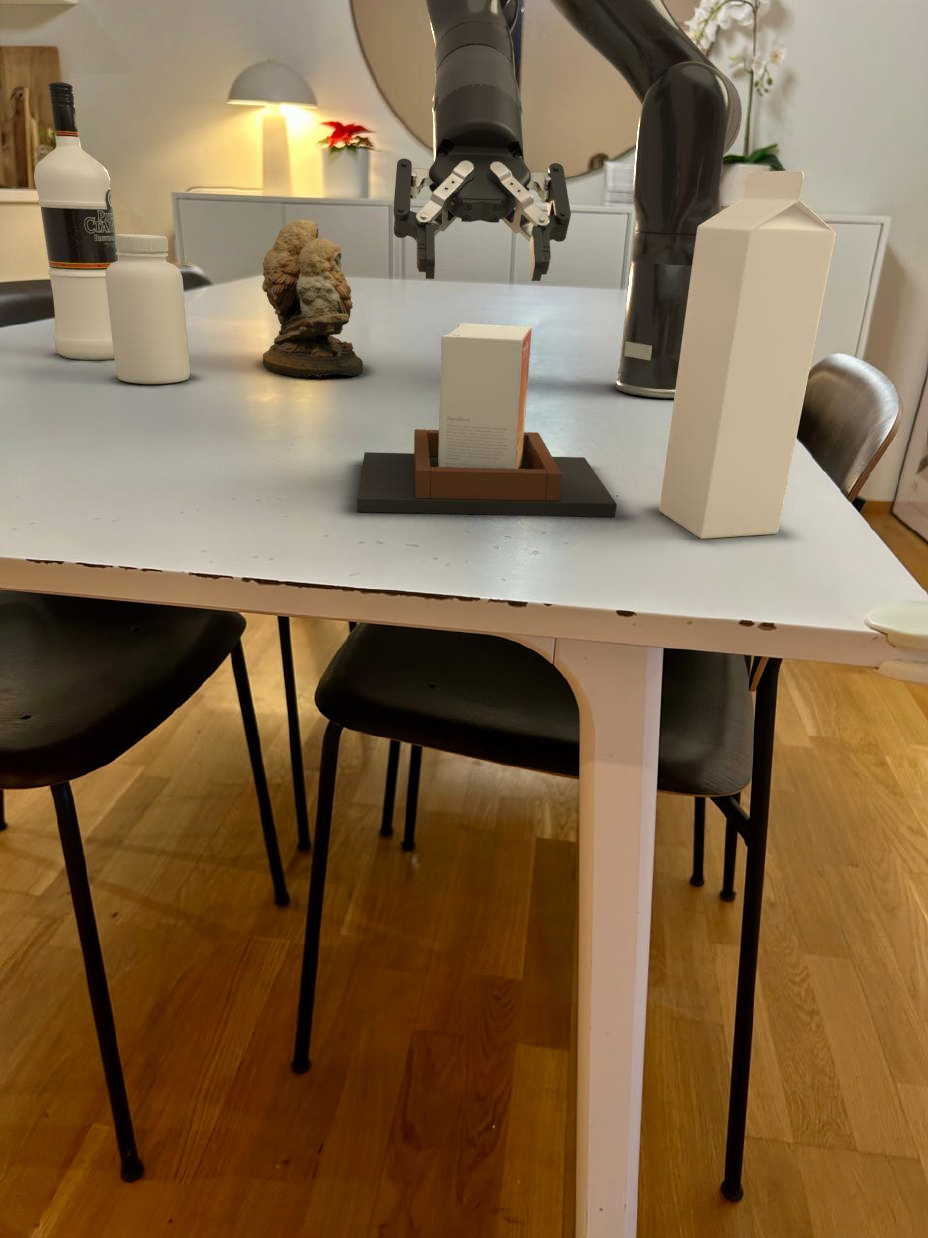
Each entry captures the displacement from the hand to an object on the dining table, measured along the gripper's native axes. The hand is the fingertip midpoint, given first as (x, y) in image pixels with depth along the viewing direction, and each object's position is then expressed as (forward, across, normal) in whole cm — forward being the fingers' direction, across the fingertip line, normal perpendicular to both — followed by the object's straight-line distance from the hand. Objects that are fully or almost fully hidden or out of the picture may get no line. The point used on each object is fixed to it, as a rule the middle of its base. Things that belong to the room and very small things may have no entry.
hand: (483, 272), depth 71 cm
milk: (+23, -15, +2) cm, 28 cm away
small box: (+17, 0, -2) cm, 17 cm away
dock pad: (+18, +1, -3) cm, 18 cm away
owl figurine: (-18, +17, -38) cm, 46 cm away
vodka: (-22, +45, -42) cm, 65 cm away
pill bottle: (-11, +34, -31) cm, 48 cm away
